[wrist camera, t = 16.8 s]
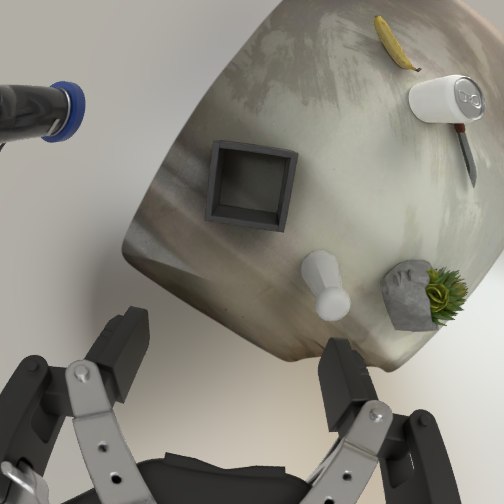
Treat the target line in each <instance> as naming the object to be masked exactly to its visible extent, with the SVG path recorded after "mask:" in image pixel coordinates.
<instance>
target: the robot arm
mask: <svg viewBox="0 0 504 504" xmlns="http://www.w3.org/2000/svg"><path fill="white" fill-rule="evenodd" d="M71 113H72V98H71V95H70V93H69V92H68V91H67V90H66V89H64V88H59V87H55V88H54V87H43V86H28V85H0V143H2V144H1V145H0V151H1V149H2V147H3V146H4V145H5V143H7V142H11V141H17V140H23V139H29V138H36V137H44V136H55V135H58V134H59V133H61V132H62V131H63V130H64V128H65V127H66V126H67V124H68V122H69V120H70V117H71ZM148 321H149V320H148V311H147V310H146V309H142V308H137V307H133V306H130V307H129V308H128V310H127V312H126V313H125V315H124V316H121V315H117V316H115V317H114V318H112V319H111V320H109V322H108V323H107V325H106V326H105V328H104V330H103V331H102V332H101V334H100V336H99V337H98V338H97V340H96V341H95V343H94V344H93V346H92V347H91V349H90V350H89V352H88V353H87V355H86V357H85V358H84V359H83V360H77V361H75V362H73V363H71V364H70V365H69V366H68V367H67V368H63V367H52V366H48V364H47V361H46V360H45V359H44V358H43V357H41V356H38V355H31V356H28V357H26V358H24V359H23V360H22V361H21V363H20V364H19V366H18V367H17V369H16V370H15V372H14V373H13V375H12V376H11V378H10V379H9V381H8V383H7V384H6V386H5V388H4V389H3V391H2V392H1V394H0V504H49V500H48V497H49V489H48V485H47V483H46V481H45V480H44V479H43V475H44V471H45V469H46V466H47V463H48V460H49V458H50V455H51V452H52V450H53V447H54V444H55V442H56V439H57V437H58V434H59V432H60V429H61V427H62V425H63V422H64V420H65V417H66V416H70V417H74V419H72V420H73V426H74V430H75V433H76V437H77V440H78V443H79V446H80V450H81V453H82V456H83V459H84V462H85V464H86V467H87V470H88V472H89V475H90V478H91V480H92V483H93V485H94V488H92V489H90V490H88V491H86V492H85V493H82V494H80V495H78V496H76V497H74V498H72V499H70V500H68V501H66V502H64V503H61V504H356V502H357V500H358V499H359V497H360V495H361V494H362V492H363V490H364V488H365V487H366V485H367V483H368V481H369V479H370V477H371V476H372V474H373V472H374V470H375V468H376V466H377V464H378V461H379V463H380V468H381V475H382V480H383V487H384V492H385V500H386V504H461V500H460V496H459V492H458V488H457V484H456V480H455V477H454V474H453V470H452V467H451V463H450V460H449V457H448V454H447V451H446V448H445V445H444V442H443V439H442V436H441V434H440V431H439V428H438V425H437V423H436V420H435V418H434V416H433V415H432V414H431V413H430V412H428V411H426V410H422V409H419V410H415V411H414V412H413V413H412V414H411V415H410V416H404V415H399V414H394V413H392V410H391V409H390V407H389V406H388V405H386V404H385V403H384V402H381V401H379V400H378V397H377V394H376V391H375V388H374V386H373V383H372V380H371V378H370V376H369V372H368V369H366V364H365V362H364V359H363V357H362V356H361V355H360V354H359V353H358V352H357V351H356V350H352V349H351V346H350V343H349V341H348V339H346V338H330V339H329V341H328V343H327V345H326V348H325V350H324V352H323V354H322V357H321V359H320V361H319V365H318V376H319V381H320V386H321V391H322V396H323V402H324V407H325V412H326V418H327V423H328V429H329V432H338V434H339V437H338V438H337V440H336V441H335V443H334V444H333V446H332V447H331V449H330V450H329V451H328V453H327V454H326V456H325V457H324V458H323V460H322V461H321V463H320V464H319V465H318V467H317V468H316V469H315V471H314V472H313V473H312V474H311V475H310V476H309V477H308V479H307V480H306V481H304V480H302V479H300V478H298V477H296V476H293V475H290V474H287V473H285V467H280V466H279V467H278V466H275V467H274V466H250V467H242V468H234V469H223V468H220V467H217V466H214V465H211V464H208V463H206V462H203V461H201V460H198V459H196V458H191V457H186V456H181V455H176V454H172V453H167V452H166V453H165V458H158V459H150V460H145V461H142V462H139V463H137V464H136V462H135V460H134V458H133V456H132V454H131V451H130V449H129V447H128V445H127V443H126V441H125V438H124V436H123V434H122V431H121V429H120V427H119V424H118V422H117V419H116V416H115V414H114V411H113V409H112V408H113V406H114V403H115V401H117V402H120V403H124V402H125V399H126V397H127V394H128V392H129V390H130V387H131V385H132V383H133V380H134V378H135V375H136V373H137V371H138V369H139V367H140V364H141V362H142V360H143V357H144V355H145V353H146V351H147V348H148V345H149V340H150V334H149V322H148ZM410 454H411V457H410ZM411 458H412V461H411ZM412 462H413V465H412ZM413 466H414V469H413Z"/></svg>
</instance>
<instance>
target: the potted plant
mask: <svg viewBox="0 0 504 504" xmlns="http://www.w3.org/2000/svg"><path fill="white" fill-rule="evenodd" d="M443 268H444V267H443ZM443 268H442V269H440V270H439V271H438V272H437V271H436V270H437V269H438V268H437V269H436V270H435V271H434V270H433V268H432V266H431V264H430V263H429V262H427V261H425V260H408V261H405V262H403V263H401V264H398V265H396V266H395V267H394V268H393V269H392V270H391V271H390V272H389V273H388V274H387V275H386V276H385V277H384V278H383V280H382V281H381V290H382V294H383V298H384V302H385V305H386V308H387V311H388V313H389V316H390V318H391V321H392V323H393V326H394V328H395V330H403V331H412V332H419V331H433V330H438V324H439V325H443V326H447V325H445V324H442V323H440V322H439V321H438V319H441V320H455V319H454V318H452V317H450V316H456V315H455V314H457V313H455V312H453V311H462V310H463V309H462V308H461V307H459V306H460V305H462V304H464V303H463V302H465V300H466V299H462V298H463V297H464V296H465V294H466V293H468V292H466V291H467V289H468V288H467V289H465V288H466V286H465V285H466V284H465V283H461V282H460V283H456V282H459V281H462V280H464V279H458V278H459V277H460V276H461V275H460V276H458V277H455V276H456V275H457V274H458V273H457V272H458V271H460V270H458V271H455V272H454V271H453V272H451V273H448V272H449V271H448V272H446V273H445V272H444V271H445V269H446V267H445V268H444V269H443ZM444 273H445V274H444ZM455 273H456V274H455ZM443 274H444V275H443ZM463 284H465V285H463ZM466 295H467V294H466Z"/></svg>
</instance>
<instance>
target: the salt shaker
mask: <svg viewBox="0 0 504 504" xmlns="http://www.w3.org/2000/svg"><path fill="white" fill-rule="evenodd" d="M301 275H302V277H303V278H304V280H305V282H306V283H307V285H308V287H309V288H310V290H311V291H312V293H313V294H314V296H315V297H316V299H315V308H316V311H317V313H318V315H319V316H320V318H322V319H324V320H326V321H336V320H339V319H341V318H343V317H344V316H345V315H346V314H347V313H348V311H349V310H350V298H349V296H348V294H347V292H346V291H345V290H343V289H342V284H341V276H340V269H339V263H338V261H337V259H336V257H335V256H334V255H332V254H331V253H330V252H328V251H322V250H319V251H313V252H311V253H310V254H309V255H308V256H307V257H306V258H305V259H304V261H303V263H302V265H301Z"/></svg>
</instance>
